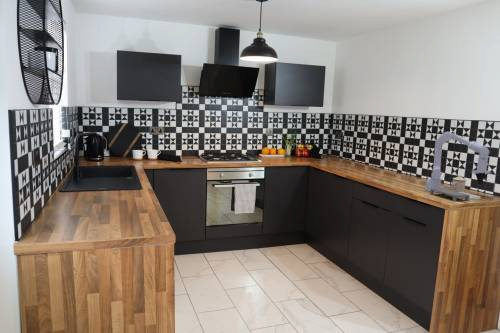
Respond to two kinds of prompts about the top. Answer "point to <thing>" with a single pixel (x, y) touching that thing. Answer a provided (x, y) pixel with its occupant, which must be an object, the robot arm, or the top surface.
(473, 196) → the tray
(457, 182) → the teacup with lid
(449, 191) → the shelf
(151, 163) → the top surface
